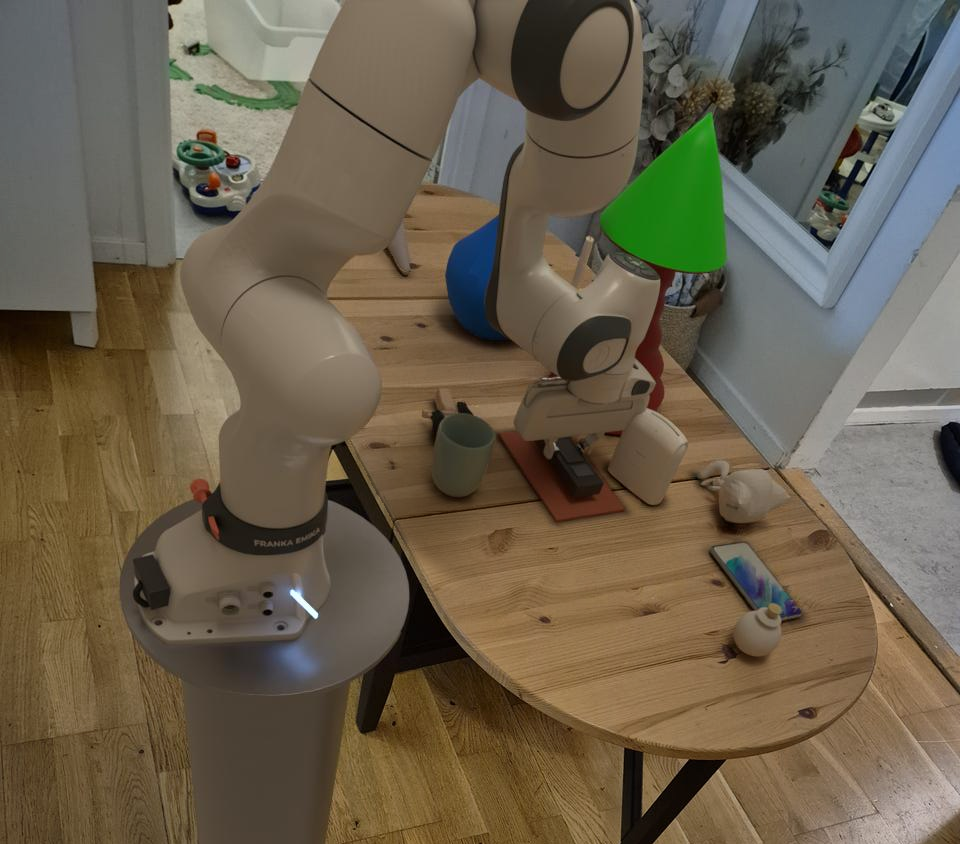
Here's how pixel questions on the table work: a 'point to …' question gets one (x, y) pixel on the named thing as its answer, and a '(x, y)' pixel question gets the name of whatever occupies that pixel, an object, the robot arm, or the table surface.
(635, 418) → the photo printer
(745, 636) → the ornament
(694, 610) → the table surface
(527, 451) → the mat
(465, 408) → the toy figure
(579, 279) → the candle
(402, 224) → the grey long tapered piece
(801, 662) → the table surface
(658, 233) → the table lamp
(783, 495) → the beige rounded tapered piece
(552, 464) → the remote
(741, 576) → the smartphone
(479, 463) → the cup
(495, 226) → the vase
